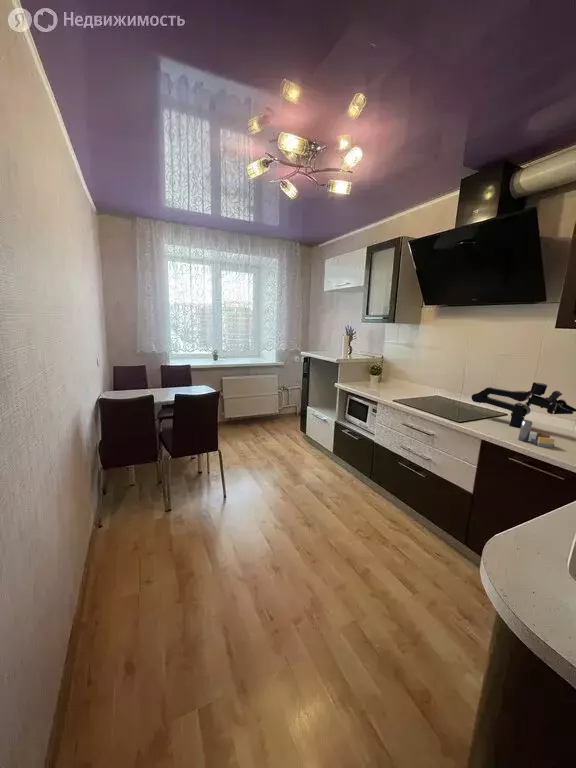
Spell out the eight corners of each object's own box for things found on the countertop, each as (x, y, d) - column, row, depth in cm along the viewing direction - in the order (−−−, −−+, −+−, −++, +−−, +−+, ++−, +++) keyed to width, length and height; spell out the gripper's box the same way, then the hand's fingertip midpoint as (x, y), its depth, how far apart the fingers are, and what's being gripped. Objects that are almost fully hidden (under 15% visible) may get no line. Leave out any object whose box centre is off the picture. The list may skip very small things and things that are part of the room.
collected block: (535, 439, 169) (537, 432, 168) (543, 440, 168) (545, 432, 168) (539, 441, 165) (541, 434, 164) (548, 442, 165) (550, 435, 164)
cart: (521, 436, 178) (523, 428, 177) (539, 438, 176) (541, 429, 175) (535, 445, 164) (537, 437, 163) (554, 448, 163) (556, 439, 162)
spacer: (517, 440, 171) (521, 421, 169) (518, 438, 174) (522, 419, 172) (527, 442, 168) (532, 423, 166) (528, 440, 171) (532, 421, 169)
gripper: (541, 390, 176) (576, 400, 165) (551, 387, 187) (585, 396, 176) (534, 408, 179) (568, 419, 168) (544, 404, 191) (577, 414, 179)
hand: (575, 411), depth 173 cm, fingers open, 9 cm apart
